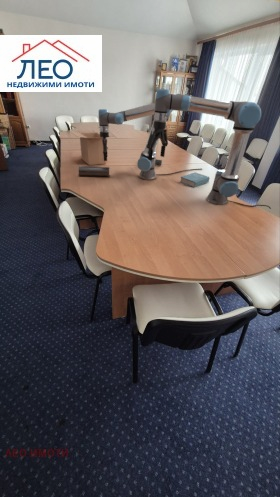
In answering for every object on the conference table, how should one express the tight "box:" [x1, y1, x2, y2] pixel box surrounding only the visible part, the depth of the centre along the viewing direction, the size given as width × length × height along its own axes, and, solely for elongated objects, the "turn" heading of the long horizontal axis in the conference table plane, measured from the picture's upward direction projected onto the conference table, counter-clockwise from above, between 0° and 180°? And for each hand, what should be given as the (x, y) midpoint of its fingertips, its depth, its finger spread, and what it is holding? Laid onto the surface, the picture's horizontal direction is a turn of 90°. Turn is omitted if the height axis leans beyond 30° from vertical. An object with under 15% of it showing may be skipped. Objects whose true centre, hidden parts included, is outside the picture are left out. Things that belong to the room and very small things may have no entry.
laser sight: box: [155, 158, 163, 166], centre depth 237 cm, size 10×22×10 cm, turn 78°
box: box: [70, 129, 114, 166], centre depth 229 cm, size 44×36×27 cm
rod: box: [77, 165, 110, 177], centre depth 198 cm, size 27×8×8 cm, turn 96°
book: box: [179, 171, 210, 188], centre depth 200 cm, size 23×16×5 cm
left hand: (105, 158), depth 192 cm, fingers open, 13 cm apart
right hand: (156, 158), depth 144 cm, fingers open, 13 cm apart
